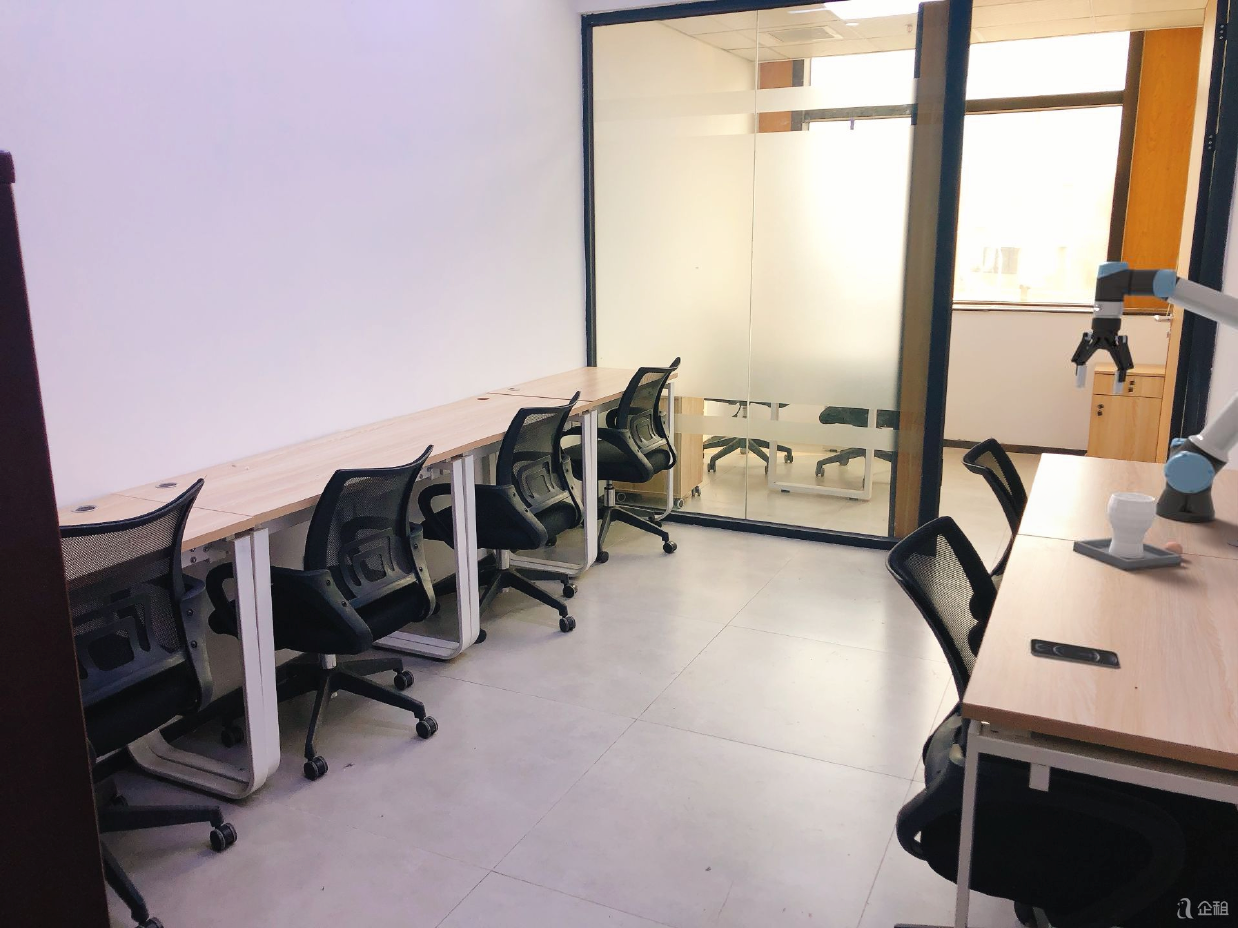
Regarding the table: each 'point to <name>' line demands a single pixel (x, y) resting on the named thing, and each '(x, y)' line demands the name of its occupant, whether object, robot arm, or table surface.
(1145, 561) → the tray
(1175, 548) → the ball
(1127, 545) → the cup
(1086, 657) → the smartphone
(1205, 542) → the table surface
